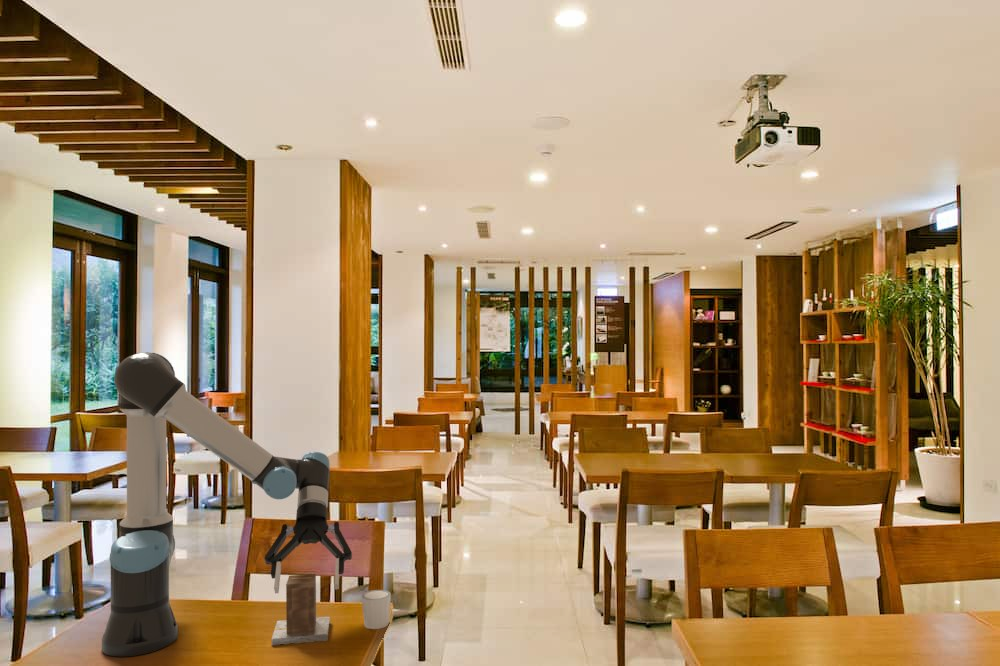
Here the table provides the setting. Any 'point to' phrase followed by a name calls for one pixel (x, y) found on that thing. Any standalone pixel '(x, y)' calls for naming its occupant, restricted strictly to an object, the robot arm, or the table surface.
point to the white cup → (376, 608)
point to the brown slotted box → (301, 603)
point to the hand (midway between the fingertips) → (306, 588)
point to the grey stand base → (316, 635)
